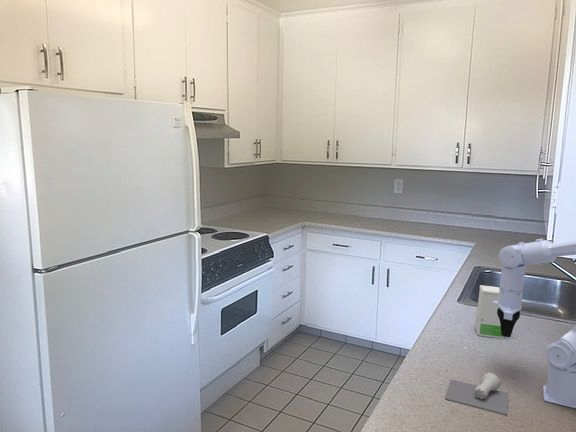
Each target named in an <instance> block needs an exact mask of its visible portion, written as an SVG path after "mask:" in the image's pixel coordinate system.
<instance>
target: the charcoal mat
mask: <svg viewBox="0 0 576 432" xmlns="http://www.w3.org/2000/svg"><path fill="white" fill-rule="evenodd" d="M477 386H478V385H476V384H472V383H468V382H463V381H461V380H456V379H450V381H449V383H448V387H447V391H446V393H445V396H444V400H445V401H450V402H454V403H458V404H462V405H465V406H468V407H472V408H477V409H481V410H484V411H489V412H492V413H496V414H500V415H504V416H508V406H509V405H508V404H509V392H506V391H501V390H498V389H497V390H495V391H490V392H489V394H488V396H487V398H485V399H480V398H477V395H475V394H474V393H475V392H474V391H475V387H477Z"/></svg>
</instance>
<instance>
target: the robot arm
mask: <svg viewBox="0 0 576 432" xmlns="http://www.w3.org/2000/svg"><path fill="white" fill-rule="evenodd" d="M534 240H535V241H533V242H526V243H525V242H524V241H520V242H518V243H517V244H513V245H512V244H511V245H507V246H505V247H502V248H501V249H500V250H499V252H498V261H499V262H500V264H501V270H500V271H501V273H500V281H499V298H498V301H493V305H497V306H498V307H499V308H498V310H497V315H498V317H499V320H500V325H501V335H502V336H504V337H505V338H511V337H512V333H513V330H514V327H515V325H516V323H517V322H518V320H520V317H521V310H522V308H523V306H522V303H523V302H522V299H523V292H524V291H523V290H524V283H525V273H526V269H527V266H533V265H534V266H535V265H541V264H551V263H553V262H555V261H556V259H557V258H558V257H565V256H575V255H576V240H572V241H566V242H559V243H554V242H552V241H551V240H548V239H544V238H543V237H542V238H538V239H534ZM504 337H503V338H504ZM545 356H546V359H547V361H548V369H547V378H546V384H545V385H543V386H542V389H543V390H542V393H543V400H544V401H545V402H547V403H552V404H555V405H560V406H564V407H568V408H572V409H576V324H575V325H574V326H573V327H572V328H571V329H570V330H568V332H566V333H565V334H564V335H563V336H561V337H560V338H559V339H558V340H557V341H554V342H551V343H549V344H548V345H547V346H546V349H545Z"/></svg>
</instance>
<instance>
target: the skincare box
mask: <svg viewBox="0 0 576 432" xmlns="http://www.w3.org/2000/svg"><path fill="white" fill-rule="evenodd" d="M499 288H500V286H499V287H497V286H492V285H481V284H480V285H479V293H478V301H477V302H478V303H477V308H476V314H475V315H476V317H475V325H474V330H475V332H476V335H477V336H480V337H487V338H495V339H500V340H501V339H502V340H503V339H504V336H502V335H501V325H500V320H499V317H498V315H497V310H498V308H499V307H498V306H497V305H493V301H498V298H499Z"/></svg>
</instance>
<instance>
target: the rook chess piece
mask: <svg viewBox="0 0 576 432" xmlns="http://www.w3.org/2000/svg"><path fill="white" fill-rule="evenodd" d="M500 387H501V380H500V378H499V377H498V376H497V375H496V374H494V373H492V372H486V373H484V374H483V376H482V377H481V384H479V385H477V387H475V391H474V392H475V393H474V394H475V395H477V398H480V399H485V398H487V396H488V394H489V392H490V391H495V390H498V389H500Z"/></svg>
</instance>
